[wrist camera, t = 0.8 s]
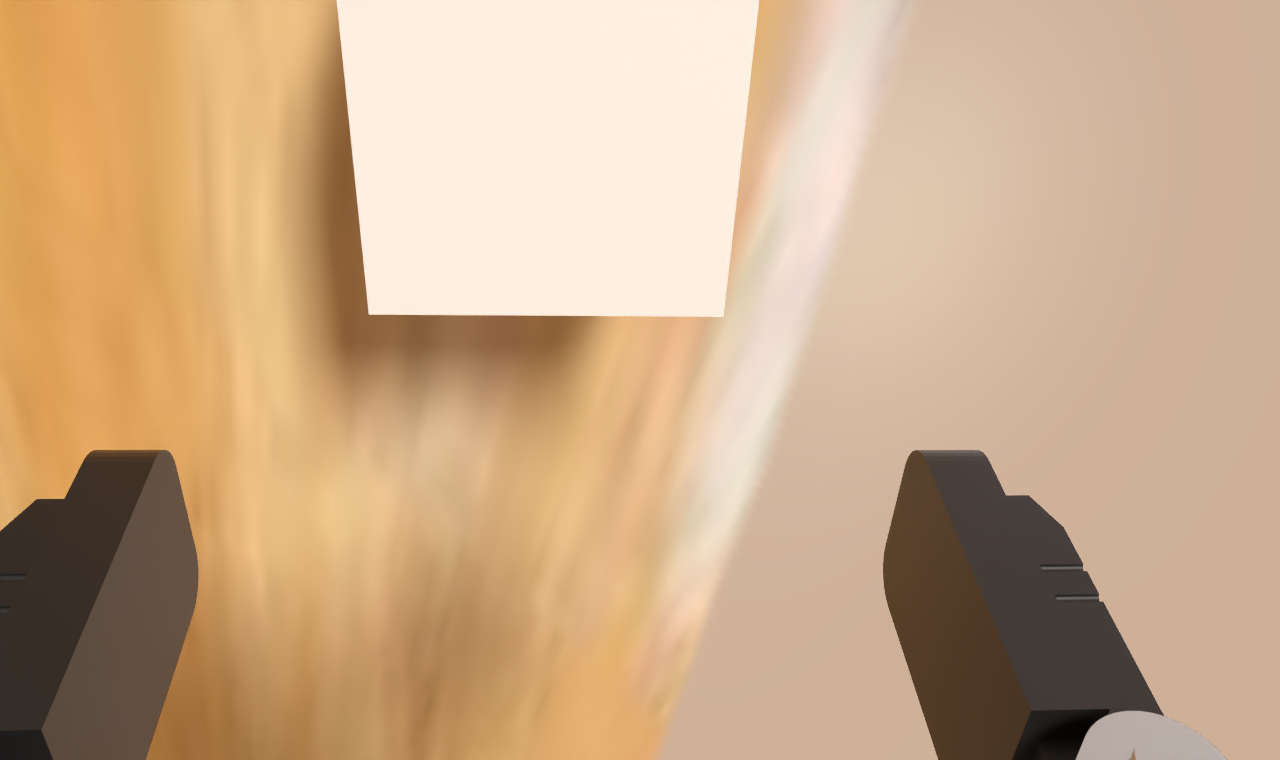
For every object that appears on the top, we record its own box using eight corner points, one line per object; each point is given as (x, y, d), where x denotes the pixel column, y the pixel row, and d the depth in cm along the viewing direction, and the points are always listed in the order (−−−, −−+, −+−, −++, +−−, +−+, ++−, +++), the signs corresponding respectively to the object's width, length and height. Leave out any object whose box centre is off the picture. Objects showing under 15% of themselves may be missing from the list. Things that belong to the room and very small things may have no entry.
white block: (390, -171, 25) (331, -54, 18) (701, -158, 26) (763, -40, 18) (410, 124, 29) (368, 314, 22) (679, 129, 30) (723, 316, 22)
